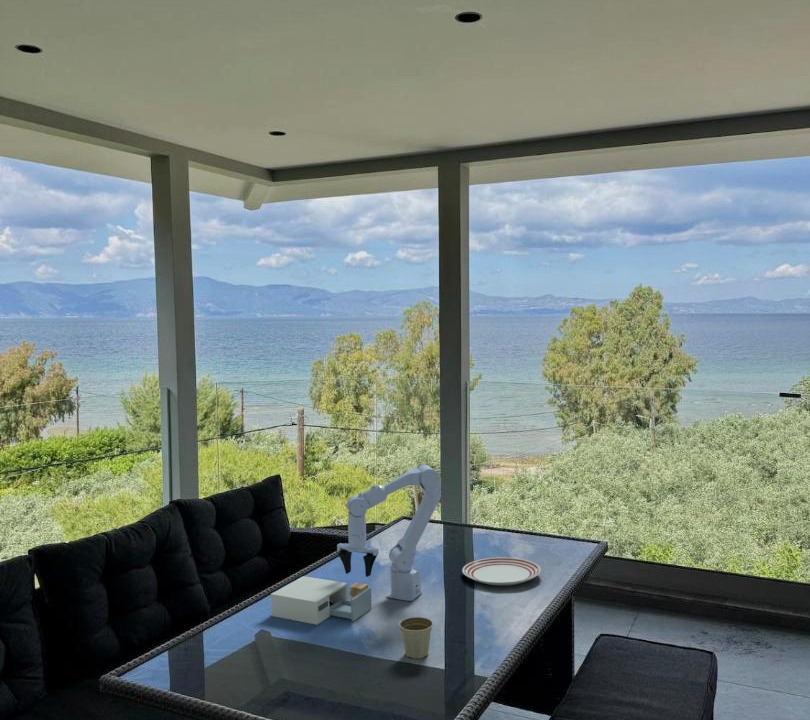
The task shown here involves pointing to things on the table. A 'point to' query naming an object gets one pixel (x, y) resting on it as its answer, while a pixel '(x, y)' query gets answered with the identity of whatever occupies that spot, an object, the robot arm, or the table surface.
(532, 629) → the table surface
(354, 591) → the oak block
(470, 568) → the dinner plate
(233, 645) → the table surface
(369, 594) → the sliding drawer
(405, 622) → the flower pot
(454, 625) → the table surface
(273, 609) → the player box
